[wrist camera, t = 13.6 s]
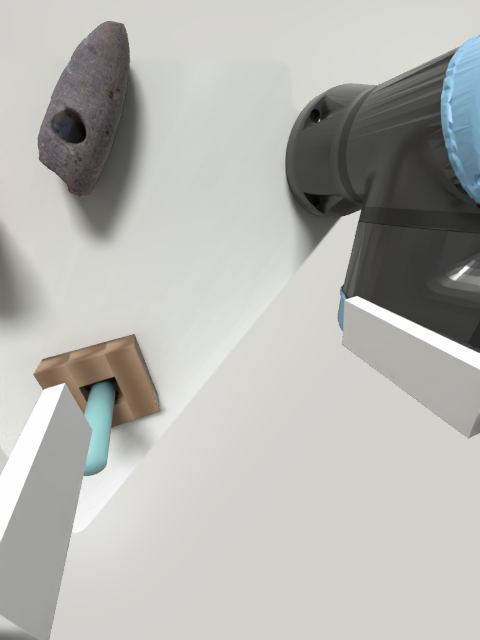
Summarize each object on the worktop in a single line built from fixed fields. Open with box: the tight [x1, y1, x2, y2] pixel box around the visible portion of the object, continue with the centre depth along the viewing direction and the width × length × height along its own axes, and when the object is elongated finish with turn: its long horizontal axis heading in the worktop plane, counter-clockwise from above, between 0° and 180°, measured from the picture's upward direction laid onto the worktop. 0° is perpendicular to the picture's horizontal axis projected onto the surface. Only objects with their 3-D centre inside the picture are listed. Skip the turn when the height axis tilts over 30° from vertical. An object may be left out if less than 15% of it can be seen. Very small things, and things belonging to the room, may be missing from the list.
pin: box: [83, 377, 117, 476], centre depth 33 cm, size 3×3×14 cm
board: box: [33, 334, 159, 427], centre depth 38 cm, size 12×12×4 cm
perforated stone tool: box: [38, 21, 130, 196], centre depth 25 cm, size 15×5×7 cm, turn 148°
